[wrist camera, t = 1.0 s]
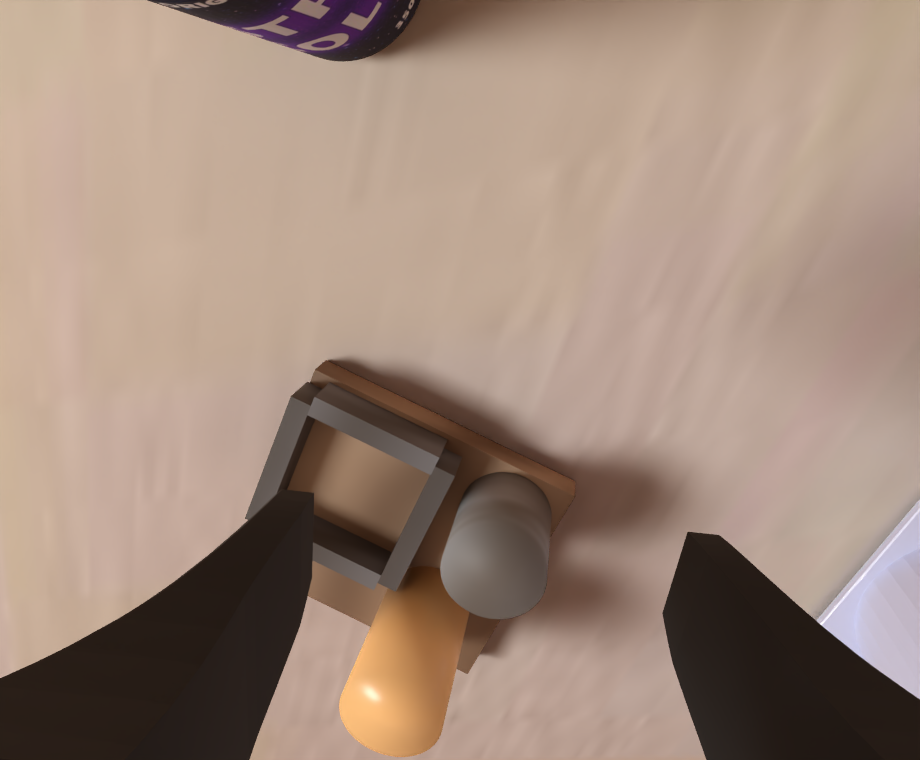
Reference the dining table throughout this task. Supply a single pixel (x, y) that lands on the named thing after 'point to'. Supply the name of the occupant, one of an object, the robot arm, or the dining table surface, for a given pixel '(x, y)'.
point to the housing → (412, 503)
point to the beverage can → (310, 22)
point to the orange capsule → (406, 667)
